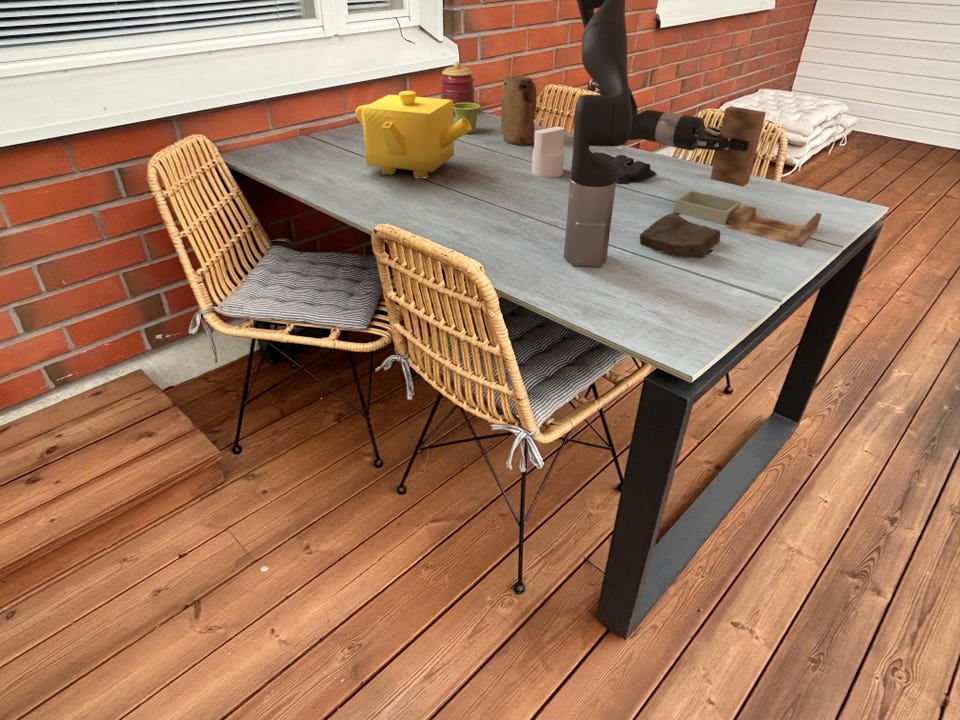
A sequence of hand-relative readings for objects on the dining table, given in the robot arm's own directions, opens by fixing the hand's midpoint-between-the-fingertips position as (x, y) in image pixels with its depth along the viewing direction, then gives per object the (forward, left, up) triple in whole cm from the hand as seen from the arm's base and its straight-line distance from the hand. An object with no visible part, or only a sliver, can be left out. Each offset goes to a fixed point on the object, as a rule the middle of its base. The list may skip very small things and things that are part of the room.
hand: (750, 144), depth 146 cm
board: (+2, +2, -9) cm, 9 cm away
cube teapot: (+34, +83, -19) cm, 91 cm away
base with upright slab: (+35, +44, -19) cm, 59 cm away
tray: (+4, +5, -19) cm, 20 cm away
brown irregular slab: (-13, +15, -19) cm, 28 cm away
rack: (-5, -7, -19) cm, 21 cm away
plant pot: (+76, +71, -19) cm, 106 cm away
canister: (+103, +76, -19) cm, 130 cm away
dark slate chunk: (+38, +24, -20) cm, 49 cm away
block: (+65, +53, -19) cm, 86 cm away
